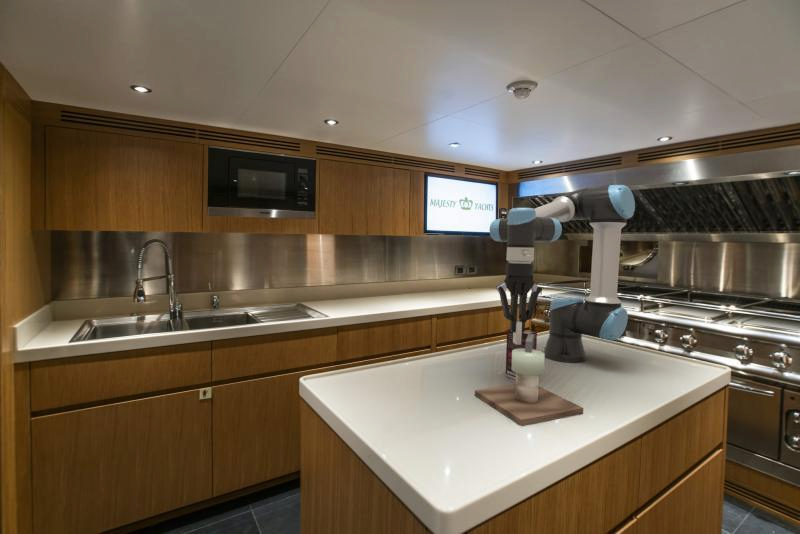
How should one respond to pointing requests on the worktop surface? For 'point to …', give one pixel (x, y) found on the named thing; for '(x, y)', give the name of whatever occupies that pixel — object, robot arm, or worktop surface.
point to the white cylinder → (528, 359)
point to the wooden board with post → (528, 401)
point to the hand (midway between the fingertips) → (517, 343)
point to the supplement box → (513, 346)
